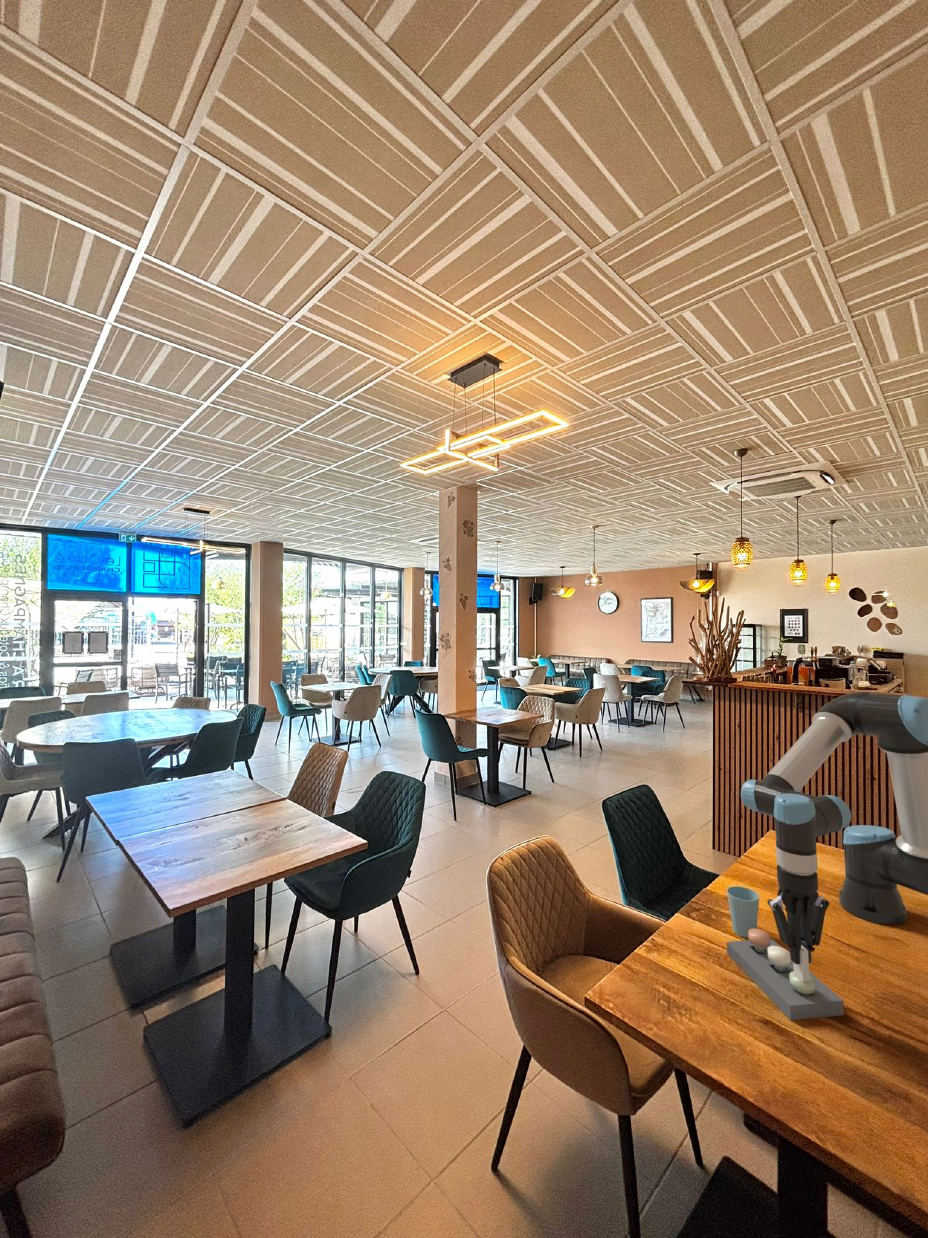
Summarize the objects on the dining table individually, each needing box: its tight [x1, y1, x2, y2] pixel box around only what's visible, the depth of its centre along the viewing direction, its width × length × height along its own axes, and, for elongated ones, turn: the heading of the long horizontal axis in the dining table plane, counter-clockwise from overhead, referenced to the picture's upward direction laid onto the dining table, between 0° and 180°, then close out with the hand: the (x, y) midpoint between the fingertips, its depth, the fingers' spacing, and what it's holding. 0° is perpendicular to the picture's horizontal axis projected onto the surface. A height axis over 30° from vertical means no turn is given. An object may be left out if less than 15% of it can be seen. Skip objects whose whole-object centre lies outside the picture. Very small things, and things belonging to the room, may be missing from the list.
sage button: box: [789, 971, 815, 996], centre depth 110 cm, size 5×5×4 cm
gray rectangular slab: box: [726, 937, 845, 1021], centre depth 117 cm, size 12×22×3 cm, turn 5°
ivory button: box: [768, 946, 791, 972], centre depth 117 cm, size 5×5×4 cm
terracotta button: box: [748, 928, 771, 953], centre depth 124 cm, size 5×5×4 cm
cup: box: [726, 885, 760, 939], centre depth 136 cm, size 8×8×10 cm
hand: (801, 977), depth 110 cm, fingers closed
